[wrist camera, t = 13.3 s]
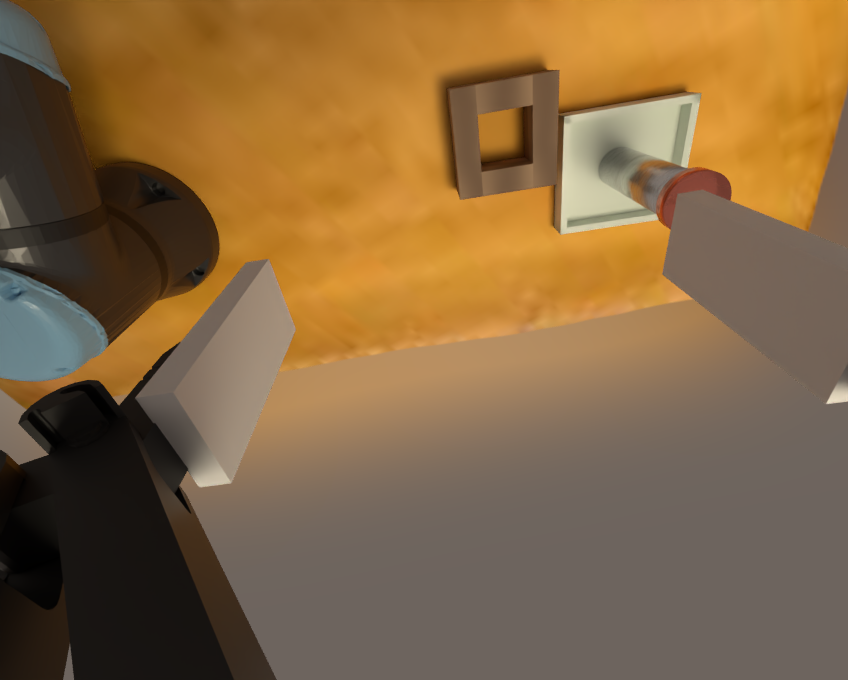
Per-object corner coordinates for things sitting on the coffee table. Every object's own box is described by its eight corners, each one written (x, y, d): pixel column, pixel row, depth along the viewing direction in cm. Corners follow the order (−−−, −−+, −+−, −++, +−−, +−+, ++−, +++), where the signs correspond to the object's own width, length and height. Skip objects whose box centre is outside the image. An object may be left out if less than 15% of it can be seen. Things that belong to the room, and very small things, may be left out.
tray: (554, 227, 49) (560, 234, 47) (556, 114, 42) (564, 116, 40) (666, 210, 48) (677, 216, 46) (686, 91, 41) (701, 93, 39)
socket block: (457, 190, 46) (460, 199, 43) (446, 88, 41) (449, 89, 38) (546, 176, 46) (556, 184, 42) (547, 70, 40) (559, 70, 37)
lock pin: (593, 192, 46) (660, 238, 33) (596, 146, 43) (670, 176, 30) (637, 185, 46) (723, 229, 33) (643, 138, 43) (738, 166, 30)
